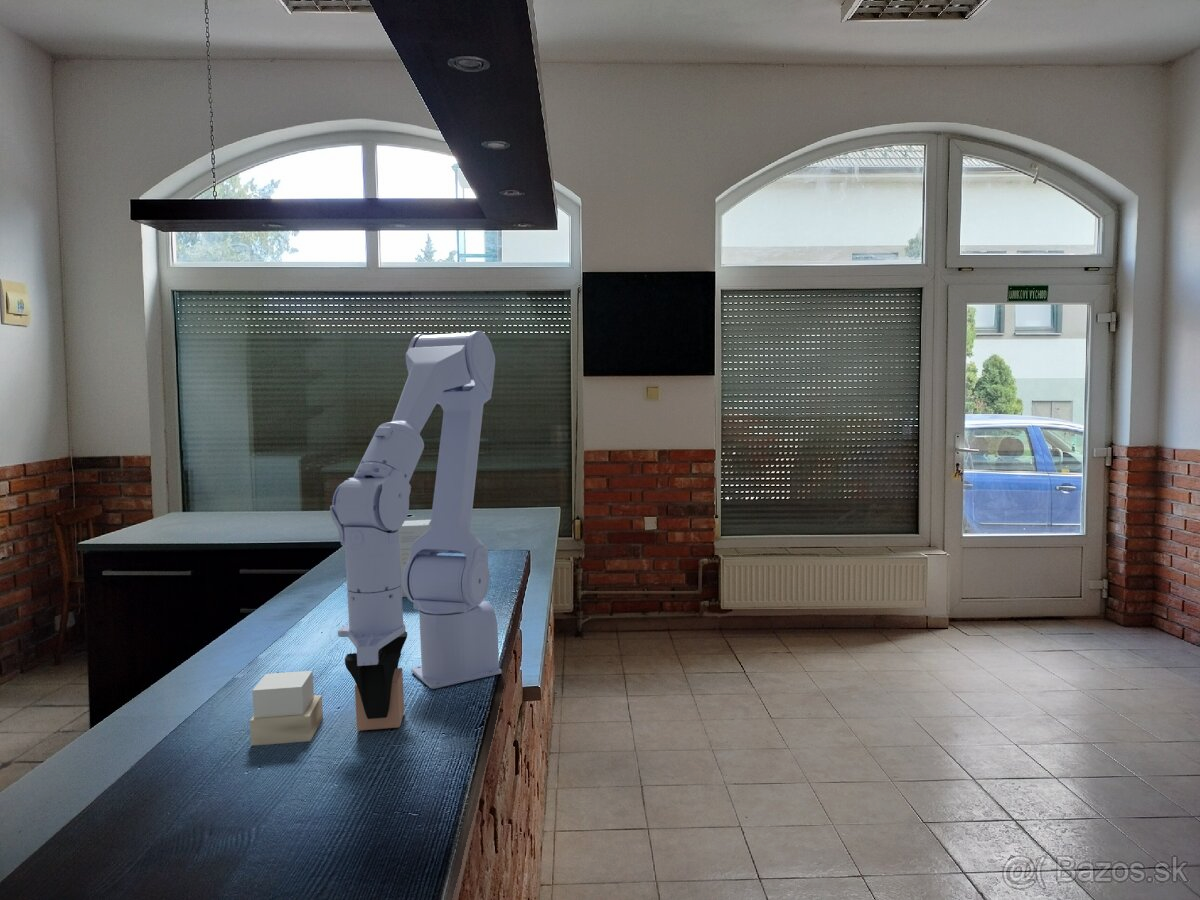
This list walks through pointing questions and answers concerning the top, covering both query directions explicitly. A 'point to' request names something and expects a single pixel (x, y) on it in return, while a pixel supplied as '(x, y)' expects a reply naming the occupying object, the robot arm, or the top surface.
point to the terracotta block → (394, 709)
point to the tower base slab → (287, 726)
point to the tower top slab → (283, 694)
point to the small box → (410, 541)
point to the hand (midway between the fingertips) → (380, 707)
